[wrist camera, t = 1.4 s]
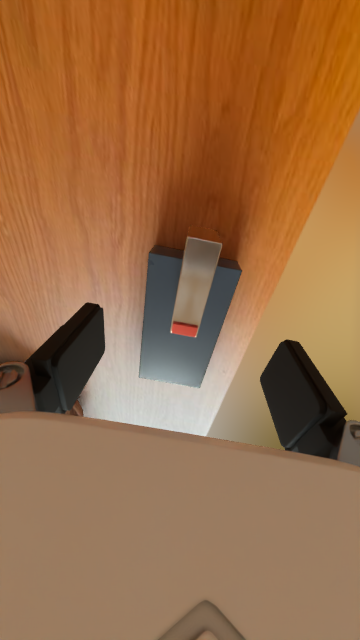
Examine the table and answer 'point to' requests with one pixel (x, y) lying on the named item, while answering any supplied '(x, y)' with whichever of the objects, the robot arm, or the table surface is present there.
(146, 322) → the tap base
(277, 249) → the table surface
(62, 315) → the table surface
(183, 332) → the silver metal slab
